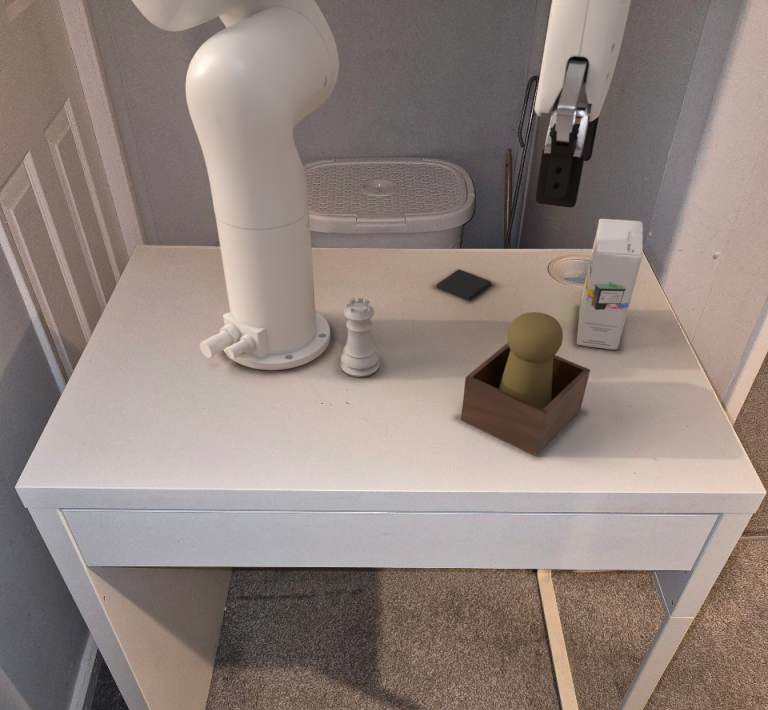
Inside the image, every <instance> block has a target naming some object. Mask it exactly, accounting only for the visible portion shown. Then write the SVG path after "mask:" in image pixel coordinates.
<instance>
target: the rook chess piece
mask: <svg viewBox="0 0 768 710" xmlns="http://www.w3.org/2000/svg"><path fill="white" fill-rule="evenodd" d="M375 313H376V312H375V309H374V307H373V306H372V303H371V301H370V300H369V299H368V298H366V299H364V297H359V296H358V297H357V301H356V299H355V298H354V297H352V298H350V299H349V301H347V303H346V307H345V308H344V309H343V315H344V316H345V317H346V319H347V321H346V323H345V326H346V328H347V339H346V344H345V345H344V348H343V349H342V351H341V353H340V359H339V360H340V363H339V366H340V368H341V370H342V371H343V373H345V374H347V375H348V376H350V377H353V378H359V379H361V378H367V377H370V376H372V375H374V374H375V373H376V372H377V371H378V370H379V368H380V365H381V362H380V354H379V352H378V350H377V348H376V346H375V344H374V343H373V338H372V327H373V322H372V320H371V319H372V318H373V316H374V315H375Z"/></svg>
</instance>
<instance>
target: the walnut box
mask: <svg viewBox="0 0 768 710" xmlns="http://www.w3.org/2000/svg"><path fill="white" fill-rule="evenodd" d="M510 351H511V350H510V348H509V346H508V342H506V343H505V344H504V345H503V346H502V347H501V348H499V349H498V350H497V351H495V352H494V353H493V354H492V355H491V356H489V357H488V358H487V359H486V360H484V361H483V362H482V363H481V364H479V365H478V366H477V367H476V368H475V369H474V370H473V371H471V372H470V373H469V374H467V375H466V376H465V379H464V389H463V398H462V405H461V406H462V407H461V415H460V416H461V417H460V420H461V421H462V422H464V423H466V424H468V425H470V426H473V427H475V428H477V429H479V430H481V431H483V432H485V433H487V434H489V435H491V436H493V437H495V438H498V439H499V440H501V441H503V442H506V443H507V444H510V445H512V446H514V447H516V448H518V449H520V450H522V451H524V452H526V453H528V454H530V455H532V456H534V457H537V456H538V455H539V454H540V453H541V452H542V451H544V449H545V448H547V446H548V445H549V444H550V443H551V442H552V441H553V440H554V439H555V438H556V437H557V436H558V435H559V434H560V433H561V432H562V431H563V430H564V429H565V428H566V427H567V426H568V425H569V424H570V423H571V422H572V421H573V420H574V419H575V418H576V417H577V415H579V414H580V413H581V409H582V404H583V401H584V397H585V393H586V389H587V386H588V381H589V376H590V373H591V369H590V368H588V367H585V366H582V365H580V364H579V363H575V362H573V361H570V360H568V359H566V358H563V357H560V356H559V355H557V354H555V355H554V356H553V372H552V393H551V402H550V403H549V404H548V405H547V406H546V407H545V408H544V409H541V408H539V407H537V406H535V405H533V404H530V403H528V402H526V401H524V400H522V399H519V398H517V397H515V396H513V395H511V394H508V393H506V392H504V391H502V390H500V389H499V386H500V383H501V379H502V376H503V373H504V370H505V367H506V363H507V360H508V357H509V354H510Z"/></svg>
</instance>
